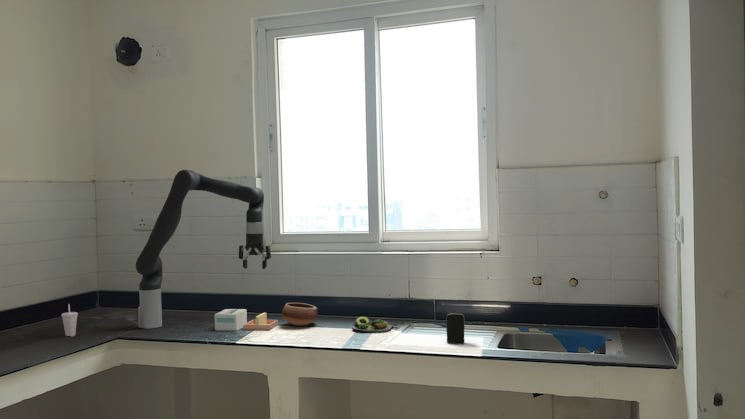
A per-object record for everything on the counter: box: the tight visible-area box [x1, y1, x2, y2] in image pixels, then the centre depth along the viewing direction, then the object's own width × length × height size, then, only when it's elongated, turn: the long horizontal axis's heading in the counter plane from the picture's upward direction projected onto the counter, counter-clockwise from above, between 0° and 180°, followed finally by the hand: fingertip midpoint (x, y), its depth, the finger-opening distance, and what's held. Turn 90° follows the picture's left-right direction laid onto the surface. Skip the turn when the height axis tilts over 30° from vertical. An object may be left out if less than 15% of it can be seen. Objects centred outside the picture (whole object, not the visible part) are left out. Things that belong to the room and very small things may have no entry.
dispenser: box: [214, 308, 248, 332], centre depth 269 cm, size 10×12×7 cm
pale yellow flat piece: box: [255, 312, 268, 325], centre depth 268 cm, size 1×5×9 cm
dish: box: [242, 319, 279, 331], centre depth 268 cm, size 12×11×2 cm
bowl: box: [281, 302, 318, 327], centre depth 270 cm, size 16×16×10 cm
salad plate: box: [351, 316, 399, 334], centre depth 261 cm, size 19×18×5 cm
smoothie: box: [60, 303, 79, 337], centre depth 261 cm, size 6×6×14 cm
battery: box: [445, 312, 466, 345], centre depth 233 cm, size 7×4×11 cm, turn 78°
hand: (254, 268), depth 269 cm, fingers open, 8 cm apart
